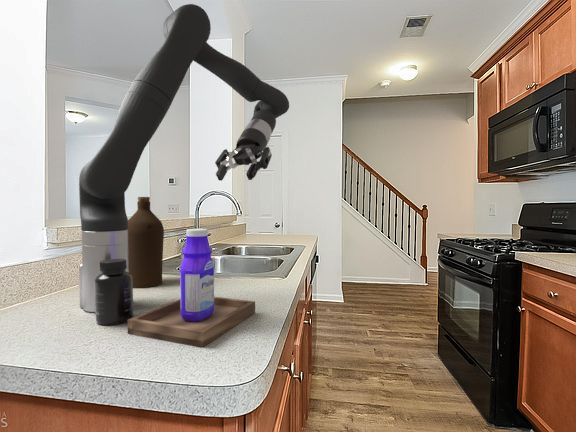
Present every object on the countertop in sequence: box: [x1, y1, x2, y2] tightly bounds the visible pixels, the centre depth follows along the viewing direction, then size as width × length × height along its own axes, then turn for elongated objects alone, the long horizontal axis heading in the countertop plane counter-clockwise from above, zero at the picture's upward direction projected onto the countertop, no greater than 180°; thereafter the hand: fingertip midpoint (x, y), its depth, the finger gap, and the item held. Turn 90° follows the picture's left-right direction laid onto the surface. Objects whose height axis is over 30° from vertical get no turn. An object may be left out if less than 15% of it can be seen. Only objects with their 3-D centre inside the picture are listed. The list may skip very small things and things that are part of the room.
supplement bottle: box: [94, 259, 135, 326], centre depth 69 cm, size 7×7×12 cm
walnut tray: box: [127, 296, 256, 348], centre depth 69 cm, size 16×19×2 cm
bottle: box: [179, 228, 215, 322], centre depth 68 cm, size 7×6×17 cm
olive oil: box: [128, 196, 165, 289], centre depth 99 cm, size 11×11×25 cm
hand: (233, 177), depth 86 cm, fingers open, 8 cm apart
